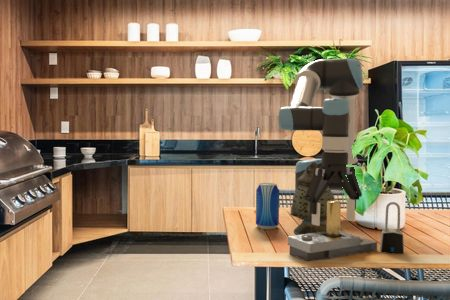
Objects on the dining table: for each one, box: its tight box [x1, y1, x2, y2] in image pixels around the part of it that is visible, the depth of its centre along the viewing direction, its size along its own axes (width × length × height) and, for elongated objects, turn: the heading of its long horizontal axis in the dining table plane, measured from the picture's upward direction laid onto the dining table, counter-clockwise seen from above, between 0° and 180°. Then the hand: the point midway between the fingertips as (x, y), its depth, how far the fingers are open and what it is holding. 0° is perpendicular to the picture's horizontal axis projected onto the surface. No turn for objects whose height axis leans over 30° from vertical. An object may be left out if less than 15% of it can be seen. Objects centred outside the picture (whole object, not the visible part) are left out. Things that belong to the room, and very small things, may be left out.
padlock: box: [379, 201, 405, 255], centre depth 137 cm, size 7×4×15 cm, turn 75°
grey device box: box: [287, 230, 378, 262], centre depth 136 cm, size 26×10×6 cm, turn 119°
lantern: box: [292, 162, 336, 235], centre depth 159 cm, size 14×14×25 cm
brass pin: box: [326, 200, 342, 238], centre depth 136 cm, size 4×4×15 cm
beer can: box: [255, 182, 280, 230], centre depth 168 cm, size 8×8×16 cm
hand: (333, 222), depth 136 cm, fingers open, 13 cm apart
